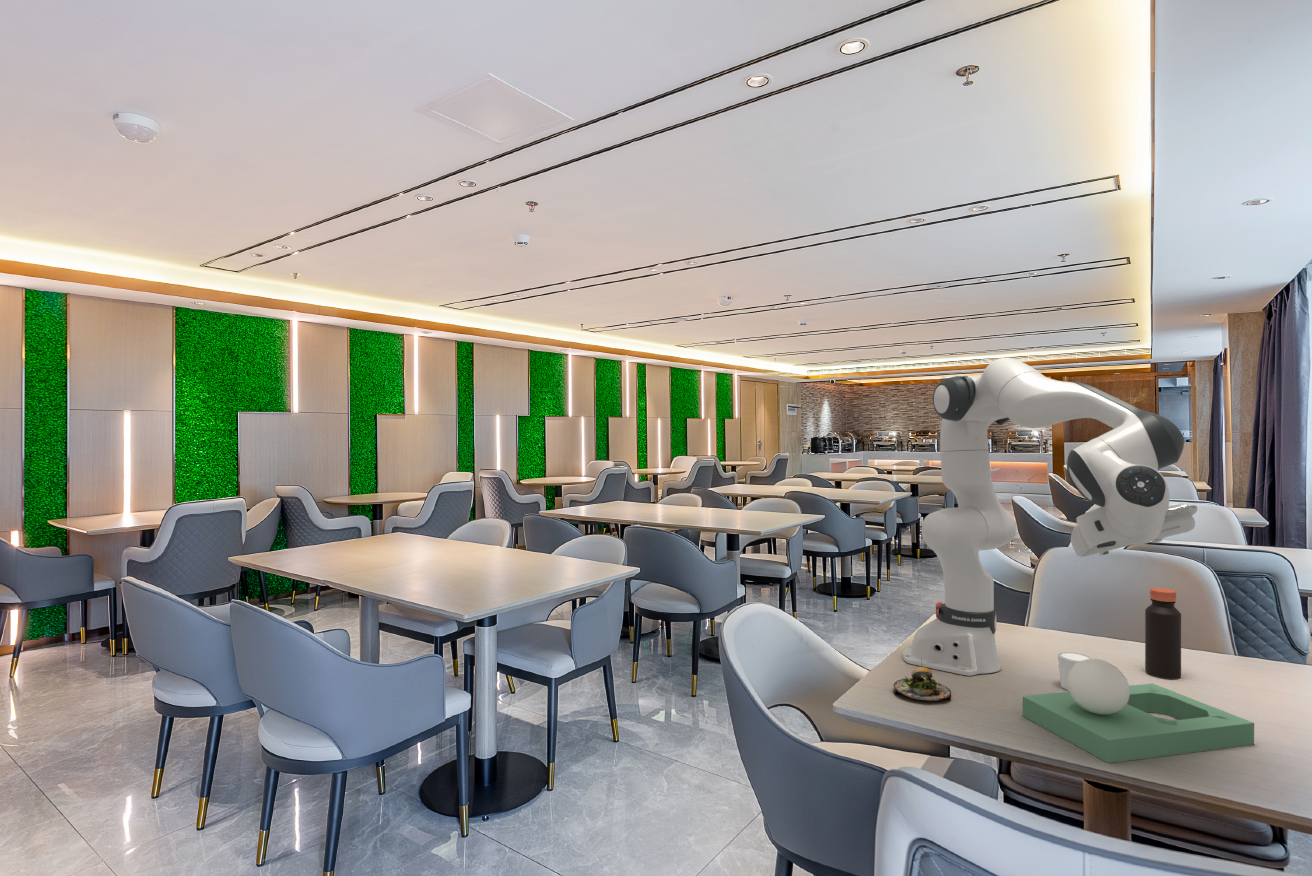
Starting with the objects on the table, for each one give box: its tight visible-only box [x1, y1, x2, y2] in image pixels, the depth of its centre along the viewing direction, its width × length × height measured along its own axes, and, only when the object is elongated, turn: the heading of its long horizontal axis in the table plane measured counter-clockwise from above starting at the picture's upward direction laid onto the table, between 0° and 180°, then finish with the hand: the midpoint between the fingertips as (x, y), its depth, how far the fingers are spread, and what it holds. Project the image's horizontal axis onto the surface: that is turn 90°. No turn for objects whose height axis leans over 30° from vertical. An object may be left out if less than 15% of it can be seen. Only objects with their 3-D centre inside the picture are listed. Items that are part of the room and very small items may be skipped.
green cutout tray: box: [1022, 682, 1255, 764], centre depth 130 cm, size 32×20×4 cm, turn 102°
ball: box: [1067, 658, 1130, 715], centre depth 128 cm, size 10×10×10 cm
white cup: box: [1057, 651, 1093, 691], centre depth 151 cm, size 7×7×7 cm
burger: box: [893, 658, 953, 702], centre depth 147 cm, size 12×12×8 cm
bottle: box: [1144, 587, 1182, 680], centre depth 159 cm, size 7×7×20 cm
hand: (1128, 545), depth 135 cm, fingers open, 8 cm apart
